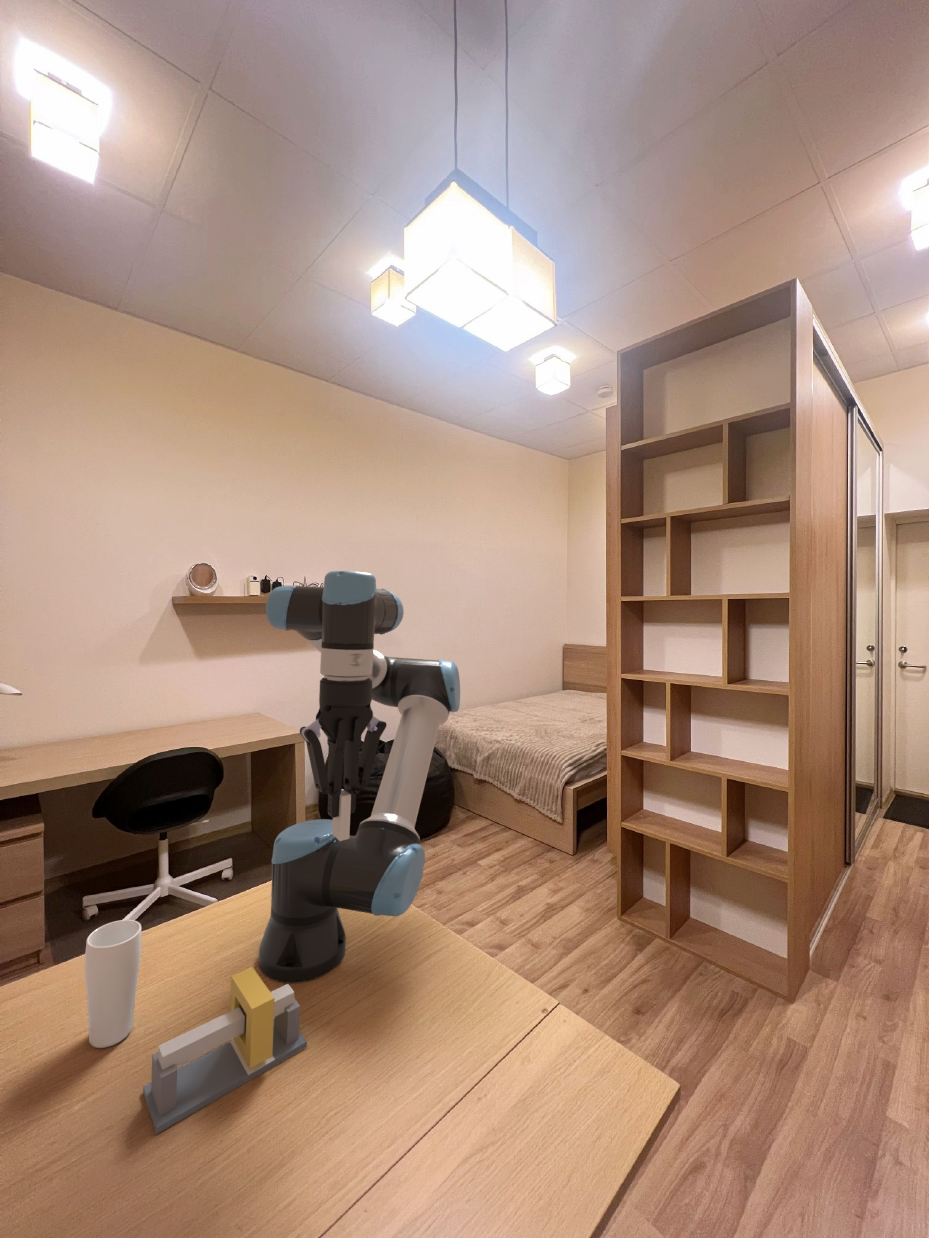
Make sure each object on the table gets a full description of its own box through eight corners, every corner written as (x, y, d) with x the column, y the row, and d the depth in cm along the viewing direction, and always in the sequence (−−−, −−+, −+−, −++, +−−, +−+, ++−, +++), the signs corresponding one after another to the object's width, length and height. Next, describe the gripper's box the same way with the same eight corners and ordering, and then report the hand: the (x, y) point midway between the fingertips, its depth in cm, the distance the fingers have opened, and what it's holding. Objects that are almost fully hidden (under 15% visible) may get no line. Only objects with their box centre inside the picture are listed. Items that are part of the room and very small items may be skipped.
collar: (229, 1030, 74) (231, 975, 74) (250, 1020, 76) (252, 966, 76) (249, 1068, 68) (252, 1008, 68) (272, 1055, 70) (274, 997, 70)
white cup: (149, 1027, 76) (152, 927, 76) (100, 1062, 70) (104, 953, 70) (120, 1010, 79) (123, 914, 79) (71, 1043, 73) (75, 938, 73)
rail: (143, 1092, 66) (145, 1036, 66) (285, 1017, 79) (287, 970, 79) (156, 1134, 61) (158, 1073, 61) (306, 1046, 74) (308, 997, 74)
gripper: (313, 682, 68) (306, 858, 69) (398, 678, 76) (392, 835, 77) (293, 675, 74) (287, 837, 75) (374, 672, 82) (368, 818, 83)
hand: (340, 836), depth 76 cm, fingers closed
